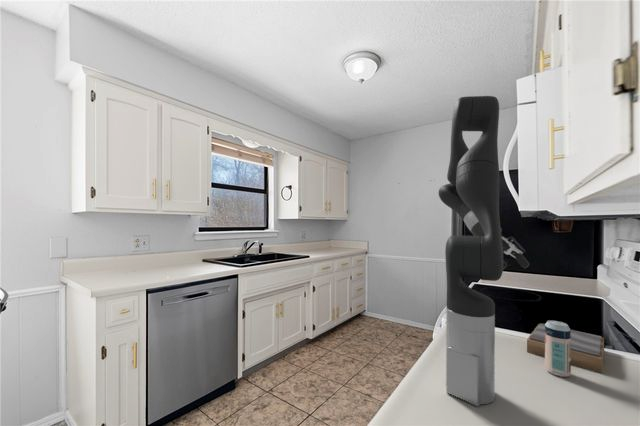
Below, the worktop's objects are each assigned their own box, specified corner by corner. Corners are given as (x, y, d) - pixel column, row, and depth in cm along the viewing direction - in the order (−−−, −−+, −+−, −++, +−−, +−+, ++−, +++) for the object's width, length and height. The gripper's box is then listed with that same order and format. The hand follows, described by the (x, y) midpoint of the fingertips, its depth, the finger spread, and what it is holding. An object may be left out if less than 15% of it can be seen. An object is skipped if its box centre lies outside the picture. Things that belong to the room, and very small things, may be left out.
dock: (602, 373, 69) (602, 356, 69) (526, 351, 80) (526, 337, 80) (604, 350, 82) (603, 336, 82) (538, 334, 92) (538, 322, 92)
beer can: (560, 368, 71) (560, 320, 71) (576, 379, 66) (575, 327, 67) (540, 367, 72) (540, 319, 72) (554, 377, 67) (553, 326, 67)
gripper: (471, 216, 87) (505, 260, 75) (506, 217, 91) (543, 258, 80) (457, 233, 91) (488, 276, 80) (491, 233, 96) (525, 273, 85)
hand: (515, 267), depth 80 cm, fingers open, 8 cm apart
